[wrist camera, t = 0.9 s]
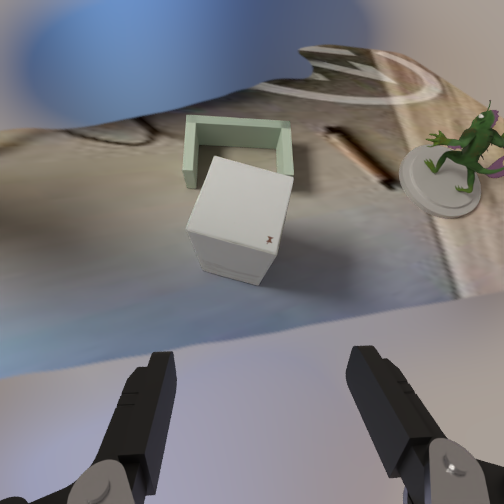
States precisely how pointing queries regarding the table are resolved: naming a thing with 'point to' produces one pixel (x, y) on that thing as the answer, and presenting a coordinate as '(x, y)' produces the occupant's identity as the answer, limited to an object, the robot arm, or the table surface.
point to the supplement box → (239, 219)
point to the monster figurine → (451, 169)
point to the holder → (235, 140)
